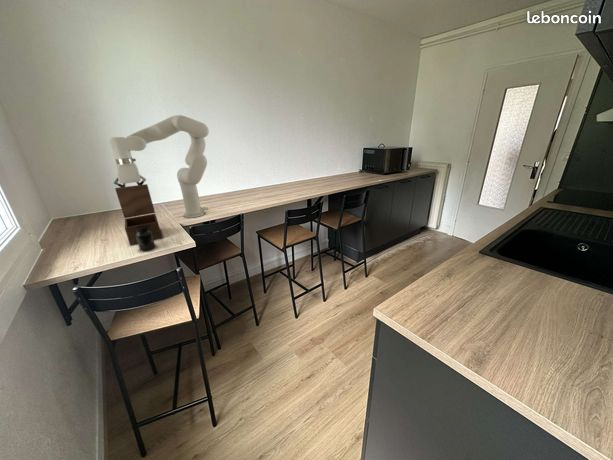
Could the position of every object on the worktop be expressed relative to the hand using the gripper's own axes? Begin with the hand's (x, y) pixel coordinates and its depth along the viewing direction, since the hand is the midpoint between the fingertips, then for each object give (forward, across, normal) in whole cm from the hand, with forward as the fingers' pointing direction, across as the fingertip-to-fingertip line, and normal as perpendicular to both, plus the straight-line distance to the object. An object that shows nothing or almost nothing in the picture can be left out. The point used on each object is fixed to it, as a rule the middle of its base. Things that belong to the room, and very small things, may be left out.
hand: (134, 193), depth 142 cm
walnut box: (+21, 0, +14) cm, 26 cm away
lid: (+3, 0, +6) cm, 6 cm away
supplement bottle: (+22, 0, +31) cm, 38 cm away
